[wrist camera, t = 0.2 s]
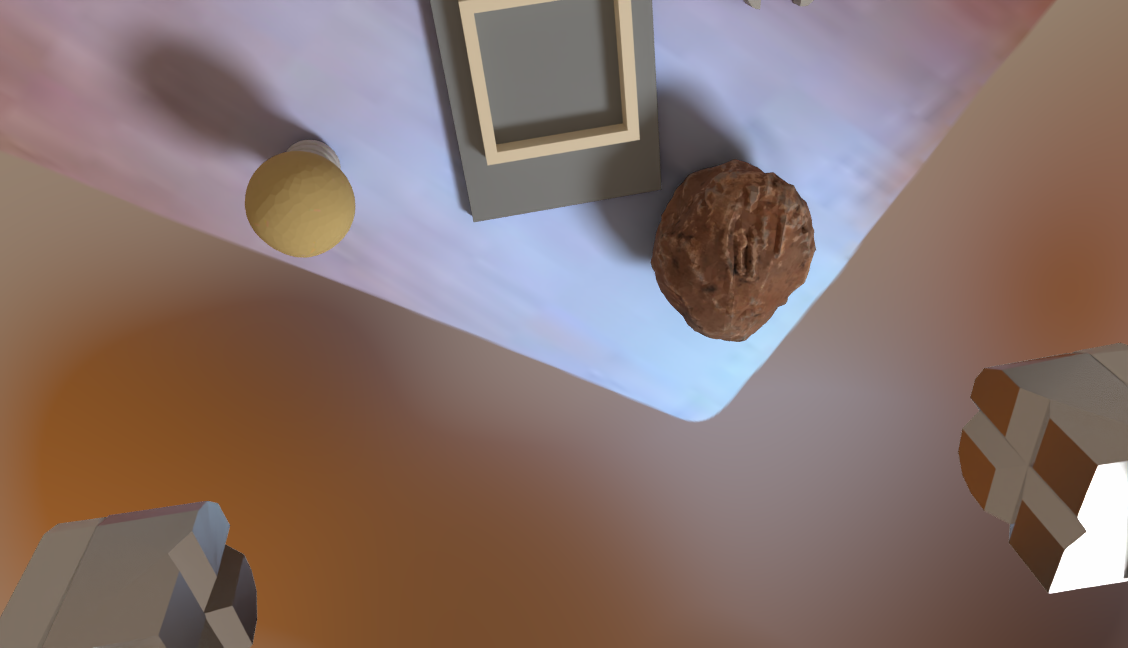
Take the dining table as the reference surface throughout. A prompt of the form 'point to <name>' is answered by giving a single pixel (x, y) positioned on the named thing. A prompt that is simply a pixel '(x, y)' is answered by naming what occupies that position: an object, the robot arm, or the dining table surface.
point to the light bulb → (301, 200)
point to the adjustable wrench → (755, 2)
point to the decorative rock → (732, 248)
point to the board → (551, 100)
